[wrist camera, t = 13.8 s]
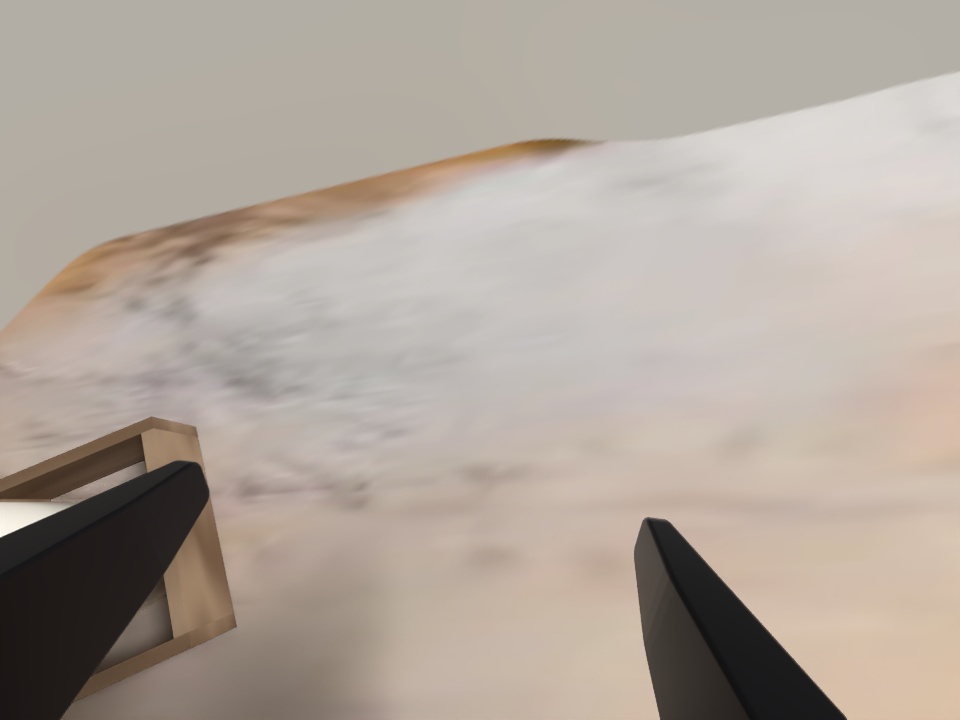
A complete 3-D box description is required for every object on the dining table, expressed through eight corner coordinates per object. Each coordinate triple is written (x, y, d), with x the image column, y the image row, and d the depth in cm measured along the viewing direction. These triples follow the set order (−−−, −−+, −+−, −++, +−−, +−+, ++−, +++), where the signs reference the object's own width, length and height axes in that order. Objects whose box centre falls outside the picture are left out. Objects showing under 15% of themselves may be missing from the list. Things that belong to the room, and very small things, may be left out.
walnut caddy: (236, 626, 20) (191, 647, 17) (-164, 810, 18) (-286, 866, 16) (195, 426, 23) (151, 416, 20) (-149, 571, 22) (-248, 582, 19)
